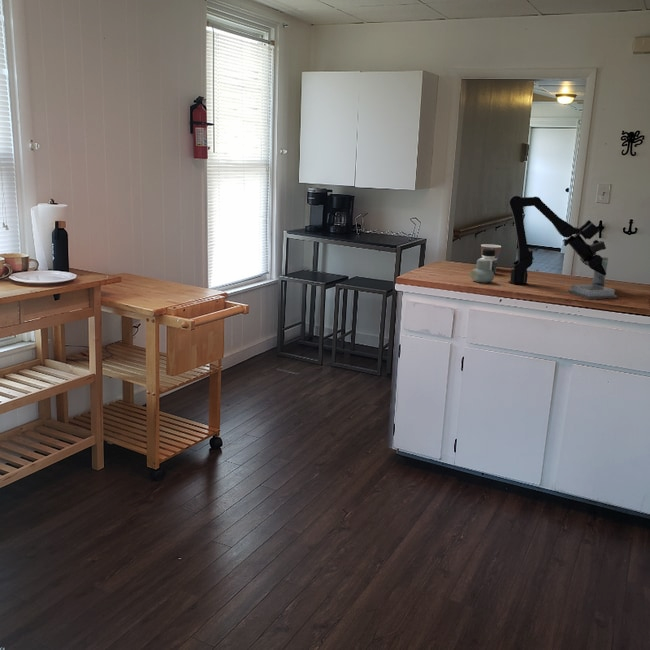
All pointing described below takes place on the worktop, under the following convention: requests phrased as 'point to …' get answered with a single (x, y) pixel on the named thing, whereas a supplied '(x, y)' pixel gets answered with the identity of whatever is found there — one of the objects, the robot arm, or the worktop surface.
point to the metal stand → (592, 291)
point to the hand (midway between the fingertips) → (603, 273)
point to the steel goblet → (597, 276)
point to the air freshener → (482, 272)
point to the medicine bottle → (490, 258)
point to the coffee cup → (490, 246)
